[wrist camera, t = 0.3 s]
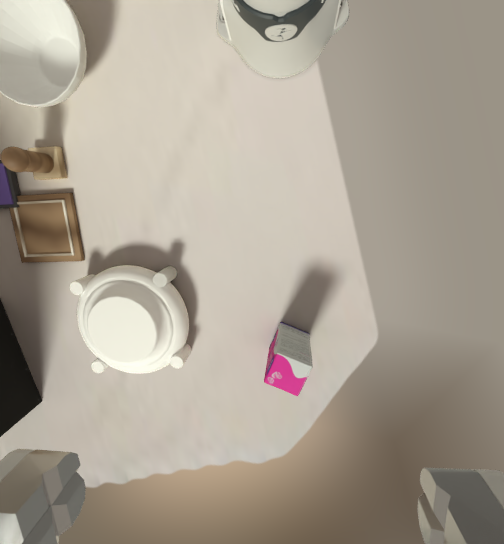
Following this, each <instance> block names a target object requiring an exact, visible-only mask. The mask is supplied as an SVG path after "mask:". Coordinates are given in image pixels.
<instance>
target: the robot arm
mask: <svg viewBox="0 0 504 544" xmlns="http://www.w3.org/2000/svg"><path fill="white" fill-rule="evenodd" d="M340 4H341V7H340ZM348 17H349V5H348V0H219V3H218V13H217V23H216V28H217V33H218V35H219V36H220V38H221V39H223V40H224V41H225V42H227V43H229V44H230V45H232V46H233V47H234V48H235V49H236V50H237V52H238V53H239V55H240V56H241V58H242V59H243V60H244V62H245V63H246V64H247V65H248V66H249V67H250V68H252V69H253V70H254V71H256V72H257V73H259V74H261V75H264V76H267V77H271V78H286V77H290V76H294V75H296V74H298V73H300V72H302V71H304V70H305V69H307V68H308V67H309V66H311V65H312V64H313V63H314V62H315V61H316V59H317V58H318V57H319V56H320V54H321V53H322V51H323V50H324V48H325V46H326V44H327V43H328V41H329V39H330V38H331V37H332V35H334V34H335V33H336V32H337V31H339V29H341V28H342V27H343V26H344V25H345V24H346V22H347V21H348ZM223 19H224V20H223ZM79 467H80V461H79V458H78V454H76V453H72V452H61V451H48V450H29V449H17V450H14V451H12V452H10V453H9V454H7V455H6V456H5V457H4V458H3V459H2V460H1V461H0V544H58V543H59V535H61V534H62V533H63V532H64V531H66V530H67V529H68V528H70V527H71V526H72V525H73V523H74V521H75V520H76V518H77V516H78V515H79V513H80V511H81V508H82V505H83V502H84V499H85V489H86V488H85V483H84V479H83V478H82V477H81V476H80V475H79V474H78V473H77V470H78V468H79ZM420 483H421V485H422V488H423V490H424V493H423V494H422V495H421V496H420V497H419V499H418V517H419V524H420V529H421V532H422V536H423V539H424V542H425V544H504V473H502V472H501V471H499V470H470V469H444V468H423V470H422V472H421V477H420Z"/></svg>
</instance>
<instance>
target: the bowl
mask: <svg viewBox="0 0 504 544" xmlns="http://www.w3.org/2000/svg"><path fill="white" fill-rule="evenodd" d="M86 61H87V50H86V44H85V38H84V34H83V31H82V29H81V26H80V24H79V21H78V19H77V17H76V15H75V13H74V12H73V10H72V9H71V7H70V6H69V4H68V3H67V1H66V0H0V92H1V93H2V94H3V95H4V96H5V97H7V98H9V99H11V100H13V101H15V102H17V103H19V104H23V105H28V106H33V107H46V106H53V105H56V104H58V103H60V102H62V101H65V100H66V99H67V98H69V97H70V96H71V95H72V94H73V93H74V92H75V91H76V90H77V88H78V87H79V85H80V83H81V82H82V80H83V77H84V73H85V70H86Z"/></svg>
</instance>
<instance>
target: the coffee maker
mask: <svg viewBox="0 0 504 544" xmlns="http://www.w3.org/2000/svg"><path fill="white" fill-rule="evenodd" d="M41 402H42V400H41V397H40V395H39V392H38V390H37V388H36V385H35V383H34V380H33V378H32V375H31V373H30V370H29V368H28V366H27V363H26V361H25V358H24V356H23V353H22V351H21V348H20V346H19V344H18V341H17V339H16V336H15V334H14V331H13V329H12V326H11V324H10V322H9V319H8V317H7V314H6V312H5V309H4V307H3V304H2V302H1V300H0V437H1V436H2V435H3V434H4V433H5V432H7V431H8V430H9V429H10V428H11V427H12V426H14V425H15V424H16V423H17V422H18V421H19V420H21V419H22V418H23V417H24V416H25V415H27V414H28V413H29V412H30V411H31V410H32V409H34V408H35V407H36V406H37V405H38V404H39V403H41Z"/></svg>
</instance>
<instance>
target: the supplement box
mask: <svg viewBox="0 0 504 544" xmlns="http://www.w3.org/2000/svg"><path fill="white" fill-rule="evenodd" d="M312 367H313V366H312V356H311V347H310V337H309V333H307V332H305V331H302V330H300V329H297V328H295V327H293V326H290V325H288V324H285V323H283V322H280V325H279V328H278V330H277V332H276V335H275V337H274V339H273V341H272V343H271V345H270V347H269V354H268V360H267V366H266V372H265V379H264V382H265V383H267V384H269V385H272V386H274V387H277V388H279V389H282V390H284V391H286V392H289V393H291V394H293V395H296V396H298V395H299V393H300V391H301V389H302V387H303V385H304V383H305V381H306V379H307V377H308V375H309V373H310V371H311V369H312Z"/></svg>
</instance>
